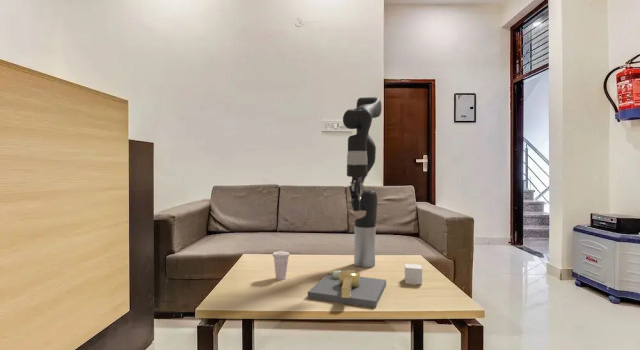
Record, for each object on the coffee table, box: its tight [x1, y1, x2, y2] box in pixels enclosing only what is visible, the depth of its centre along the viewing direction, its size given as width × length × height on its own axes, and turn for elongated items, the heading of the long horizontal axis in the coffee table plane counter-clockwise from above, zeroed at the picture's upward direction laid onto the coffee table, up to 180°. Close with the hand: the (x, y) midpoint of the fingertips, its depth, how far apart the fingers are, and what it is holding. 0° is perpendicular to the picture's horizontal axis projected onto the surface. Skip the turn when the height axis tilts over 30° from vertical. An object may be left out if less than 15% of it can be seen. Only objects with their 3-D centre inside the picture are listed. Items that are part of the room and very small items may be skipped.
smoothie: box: [272, 241, 290, 281], centre depth 128 cm, size 6×6×14 cm
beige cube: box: [404, 263, 423, 285], centre depth 126 cm, size 6×6×6 cm
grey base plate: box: [307, 270, 387, 309], centre depth 115 cm, size 22×22×5 cm
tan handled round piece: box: [339, 269, 361, 298], centre depth 109 cm, size 18×7×4 cm, turn 170°
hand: (356, 210), depth 123 cm, fingers closed
